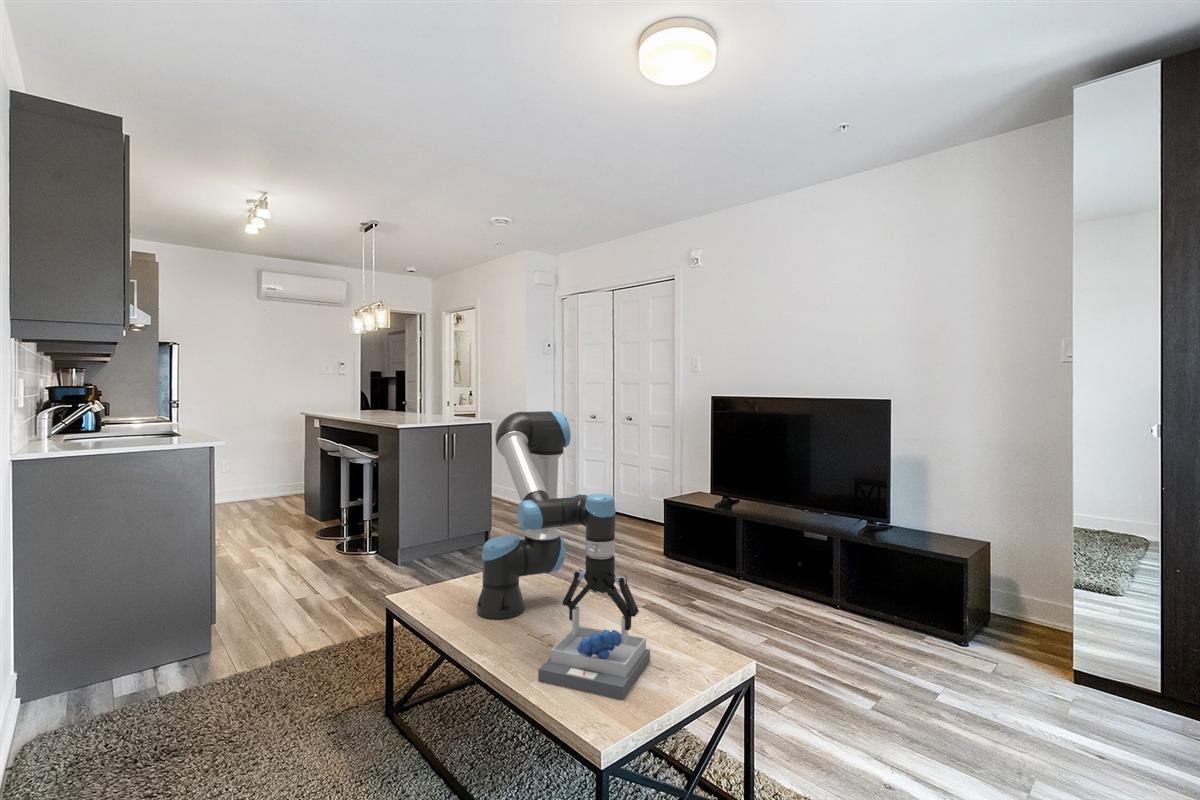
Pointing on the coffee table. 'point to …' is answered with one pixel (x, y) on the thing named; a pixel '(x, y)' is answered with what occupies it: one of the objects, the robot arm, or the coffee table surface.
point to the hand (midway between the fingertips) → (599, 637)
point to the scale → (596, 666)
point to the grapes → (600, 644)
